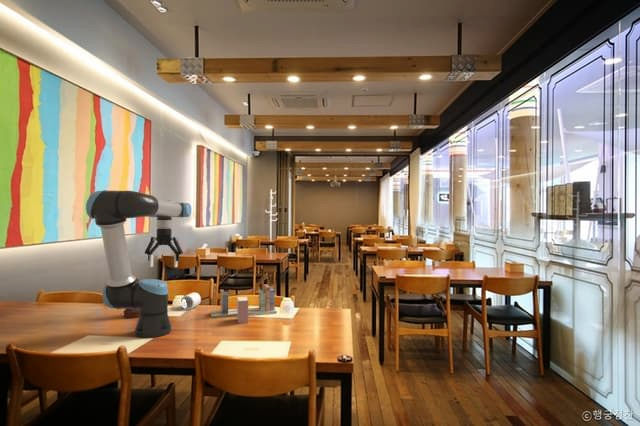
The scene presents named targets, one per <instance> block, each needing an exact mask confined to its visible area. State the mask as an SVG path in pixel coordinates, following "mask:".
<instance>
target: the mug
mask: <svg viewBox="0 0 640 426" xmlns="http://www.w3.org/2000/svg"><path fill="white" fill-rule="evenodd" d="M180 299H181V302H182V300H183V299H185V300H186V303H187V307H186V308H185V309H186V310H185V309H184V310H185V311H189V310H191V309H193V308H195V307H197V306H199V304H201V301H202V297H201V295H200V294H199V293H198V292H194V291H193V292H190V293H188V294H187V295H184V296H183V297H181V298H180Z"/></svg>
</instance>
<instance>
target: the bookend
mask: <svg viewBox="0 0 640 426" xmlns="http://www.w3.org/2000/svg"><path fill="white" fill-rule="evenodd" d="M221 310H222V314H228V310H229V293H228V291H221Z"/></svg>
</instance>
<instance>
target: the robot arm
mask: <svg viewBox="0 0 640 426" xmlns="http://www.w3.org/2000/svg"><path fill="white" fill-rule="evenodd" d="M85 211H86V214H87V216H88V217H89V218H90V219H93V220H94V222H95V225H96V226H97V227H99V228H100V231H101V236H102V242H103V247H104V253H105V259H106V264H107V270H108V274H109V279H108V280H107V281H106V284H105V285H104V288H103V292H102V299H103V303H104V304H105V305H106V307H108V308H110V309H114V310H115V309H116V310H122V309H124V310H125V309H139V318H137V319H138V320H137V321H136V325H135V328H134V336H135V337H138V338H146V339H148V338H158V337H162V336H166V335H168V334H170V333H171V332H172V329H173V328H172V327H173V326H172V323H171V320H170V317H169V314H168V309H169V308H168V307H169V305H168V304H169V287H168V283H167V282H166V281H164V280H161V279H157V278H156V279H154V278H153V279H152V278H151V279H150V278H149V279H148V278H147V279H146V278H143V279H141V280H139V282H138V283H137V281H136V278H137V277H136V276H135V275H134V274H132V270H131V262H130V257H129V252H128V251H129V250H128V244H127V239H126V234H125V227H124V224H125V223H126V222H127V219H134V218H143V217H146V218H147V217H148V218H149V217H150V218H156V228H157V229H156V236H151V237H150V241H149V243H148V245H147V247H146V249H145V250H144V255H145V254H146V255H147V261H148V262H149V268H153V267H154V254H153V253H155V251H156V250H157V249H158V248H159V246H168V247H169V248H170V250H172V252H173V253H174V257H173V267H174V268H178V263H179V261H180V255H182V254H184V252H183V249H182V247H181V245H180V242H179V241H178V237H177V236H173V237H172V231H173V230H172V226H173V225H172V221H173V220H172V219H173V218H190V216H191V214H192V205H191V204H190V203H188V202H177V201H173V200H172V201H171V200H168V199H160V198H156V196H154V195H151V194H147V193H143V192H139V191H134V190H107V189H106V190H96V191H94V192H92V193H91V194H89V196H88V198H87V200H86V204H85ZM172 241H173V243H172ZM155 242H156V243H155ZM154 243H155V244H154ZM173 244H174V245H173ZM153 245H154V246H153Z"/></svg>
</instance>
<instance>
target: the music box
mask: <svg viewBox="0 0 640 426" xmlns="http://www.w3.org/2000/svg"><path fill="white" fill-rule="evenodd" d="M136 281H137V283H139V282H140V280H139V278H138V277H136ZM123 318H124V319H130V320H131V319H132V320H133V319H139V309H124V310H123Z"/></svg>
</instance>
